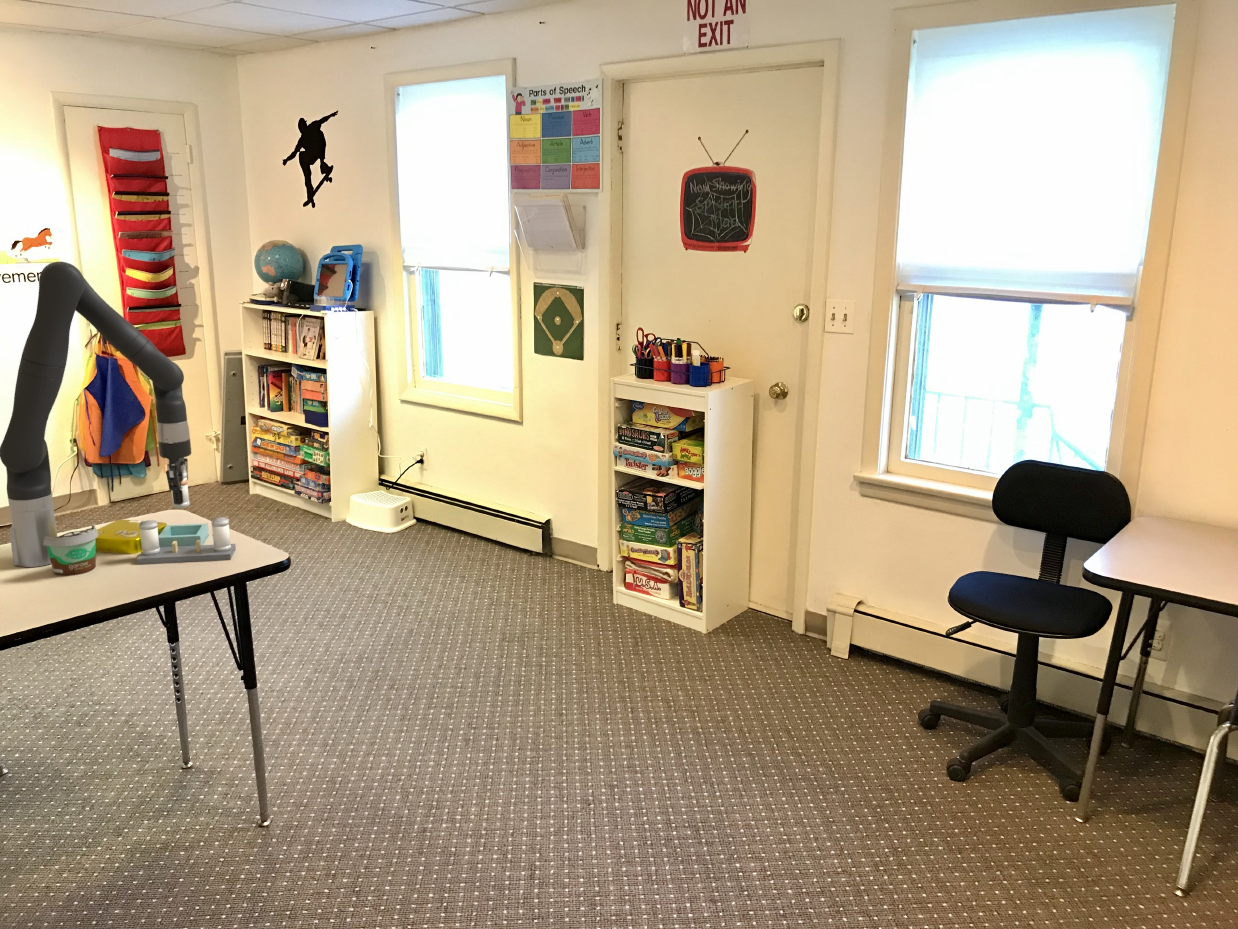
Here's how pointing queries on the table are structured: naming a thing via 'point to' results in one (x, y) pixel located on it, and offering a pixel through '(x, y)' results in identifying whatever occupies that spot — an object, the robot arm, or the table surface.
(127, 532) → the element tile
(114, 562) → the table surface
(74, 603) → the table surface
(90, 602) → the table surface
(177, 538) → the tray
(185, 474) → the marked fuse
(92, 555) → the food container
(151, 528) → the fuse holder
